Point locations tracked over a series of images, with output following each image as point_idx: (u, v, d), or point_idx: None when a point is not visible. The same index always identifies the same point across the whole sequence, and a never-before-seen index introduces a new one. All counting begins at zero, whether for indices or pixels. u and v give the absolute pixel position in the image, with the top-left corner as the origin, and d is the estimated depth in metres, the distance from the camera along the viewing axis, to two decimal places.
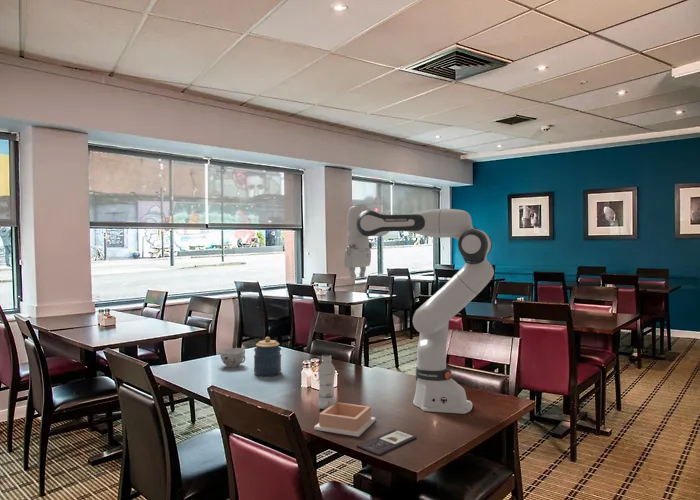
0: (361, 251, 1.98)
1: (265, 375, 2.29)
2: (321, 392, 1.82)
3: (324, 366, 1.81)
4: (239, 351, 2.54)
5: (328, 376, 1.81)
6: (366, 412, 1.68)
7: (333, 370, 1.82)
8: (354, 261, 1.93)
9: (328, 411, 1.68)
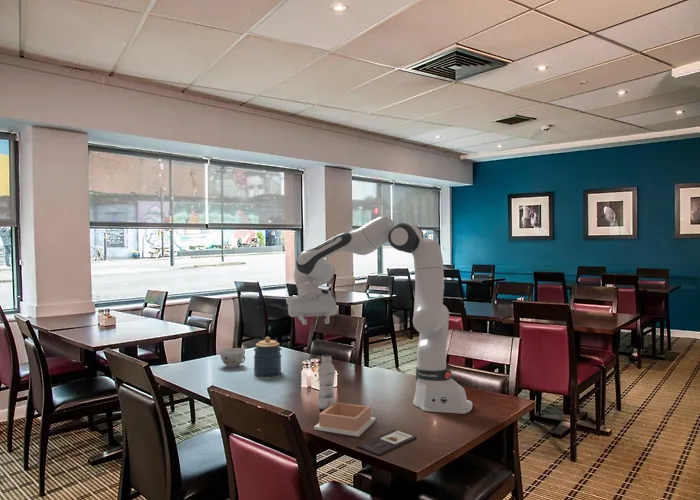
0: (307, 297, 2.00)
1: (265, 375, 2.29)
2: (321, 392, 1.82)
3: (324, 366, 1.81)
4: (239, 351, 2.54)
5: (328, 376, 1.81)
6: (366, 412, 1.68)
7: (333, 370, 1.82)
8: (295, 307, 1.96)
9: (328, 411, 1.68)
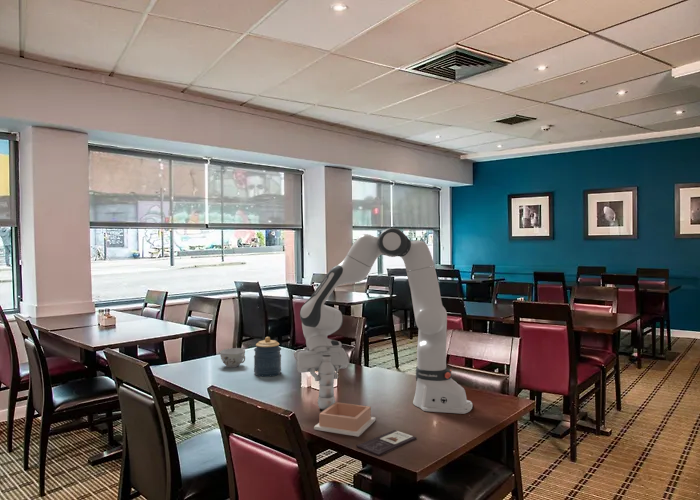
0: (316, 351, 1.88)
1: (265, 375, 2.29)
2: (321, 392, 1.82)
3: (324, 366, 1.81)
4: (239, 351, 2.54)
5: (328, 376, 1.81)
6: (366, 412, 1.68)
7: (333, 370, 1.82)
8: (304, 362, 1.84)
9: (328, 411, 1.68)
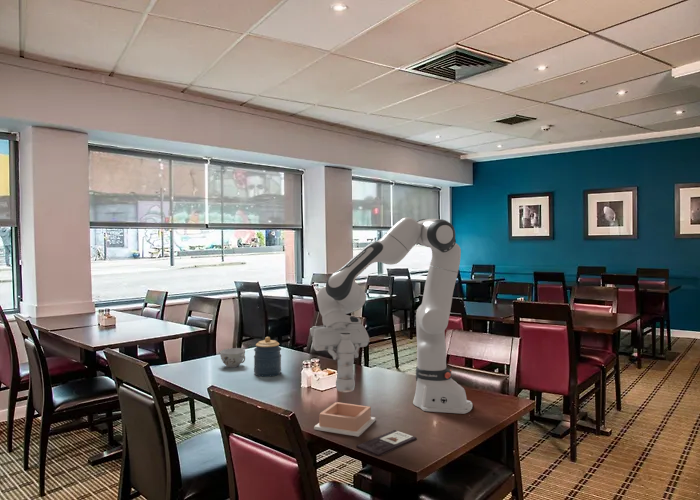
0: (334, 327, 1.72)
1: (265, 375, 2.29)
2: (340, 373, 1.66)
3: (343, 344, 1.65)
4: (239, 351, 2.54)
5: (348, 356, 1.65)
6: (366, 412, 1.68)
7: (353, 349, 1.66)
8: (321, 339, 1.68)
9: (328, 411, 1.68)
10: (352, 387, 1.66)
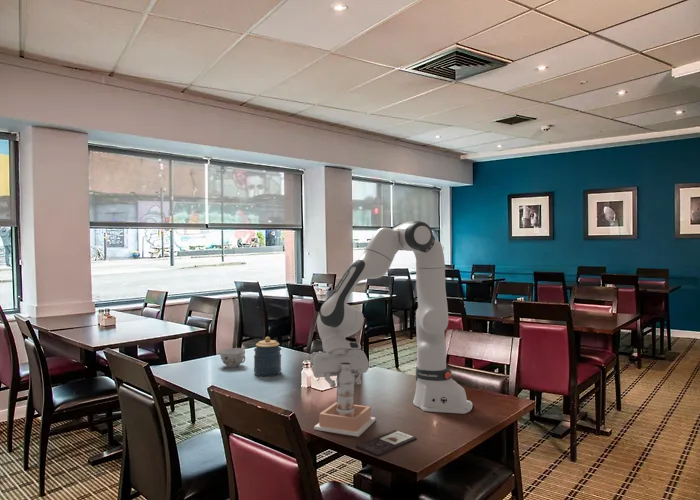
0: (334, 353, 1.72)
1: (265, 375, 2.29)
2: (340, 404, 1.66)
3: (343, 375, 1.65)
4: (239, 351, 2.54)
5: (347, 386, 1.65)
6: (366, 412, 1.68)
7: (353, 379, 1.66)
8: (321, 366, 1.68)
9: (328, 411, 1.68)
10: None
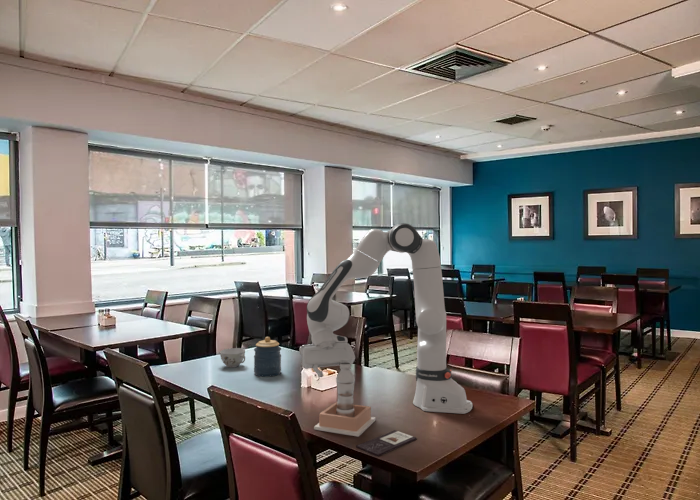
0: (322, 346, 1.84)
1: (265, 375, 2.29)
2: (340, 404, 1.66)
3: (343, 374, 1.66)
4: (239, 351, 2.54)
5: (347, 386, 1.65)
6: (366, 412, 1.68)
7: (353, 379, 1.66)
8: (309, 357, 1.80)
9: (328, 411, 1.68)
10: None
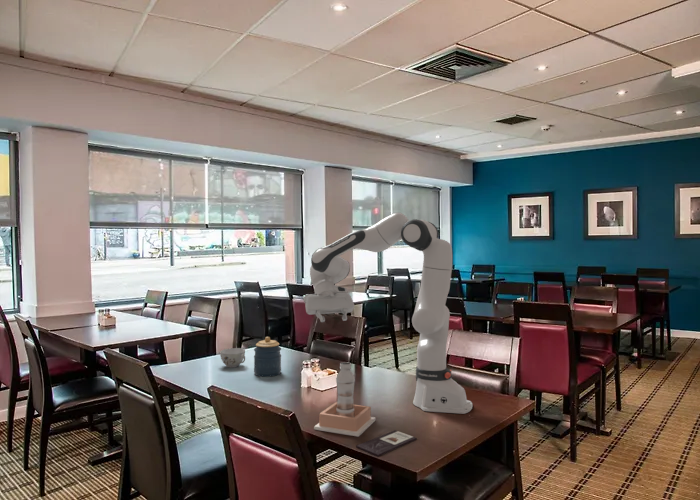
0: (324, 295, 2.01)
1: (265, 375, 2.29)
2: (340, 404, 1.66)
3: (343, 374, 1.66)
4: (239, 351, 2.54)
5: (347, 386, 1.65)
6: (366, 412, 1.68)
7: (353, 379, 1.66)
8: (313, 304, 1.97)
9: (328, 411, 1.68)
10: None
